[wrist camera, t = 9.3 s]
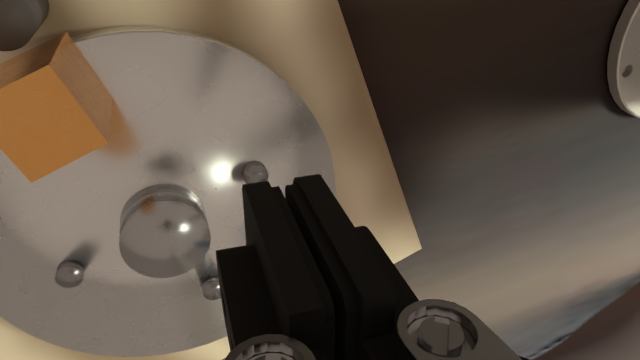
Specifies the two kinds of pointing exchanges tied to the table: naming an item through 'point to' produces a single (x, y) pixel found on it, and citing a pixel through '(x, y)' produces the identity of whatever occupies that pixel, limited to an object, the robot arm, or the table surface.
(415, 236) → the base board
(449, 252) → the table surface
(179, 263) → the flange
